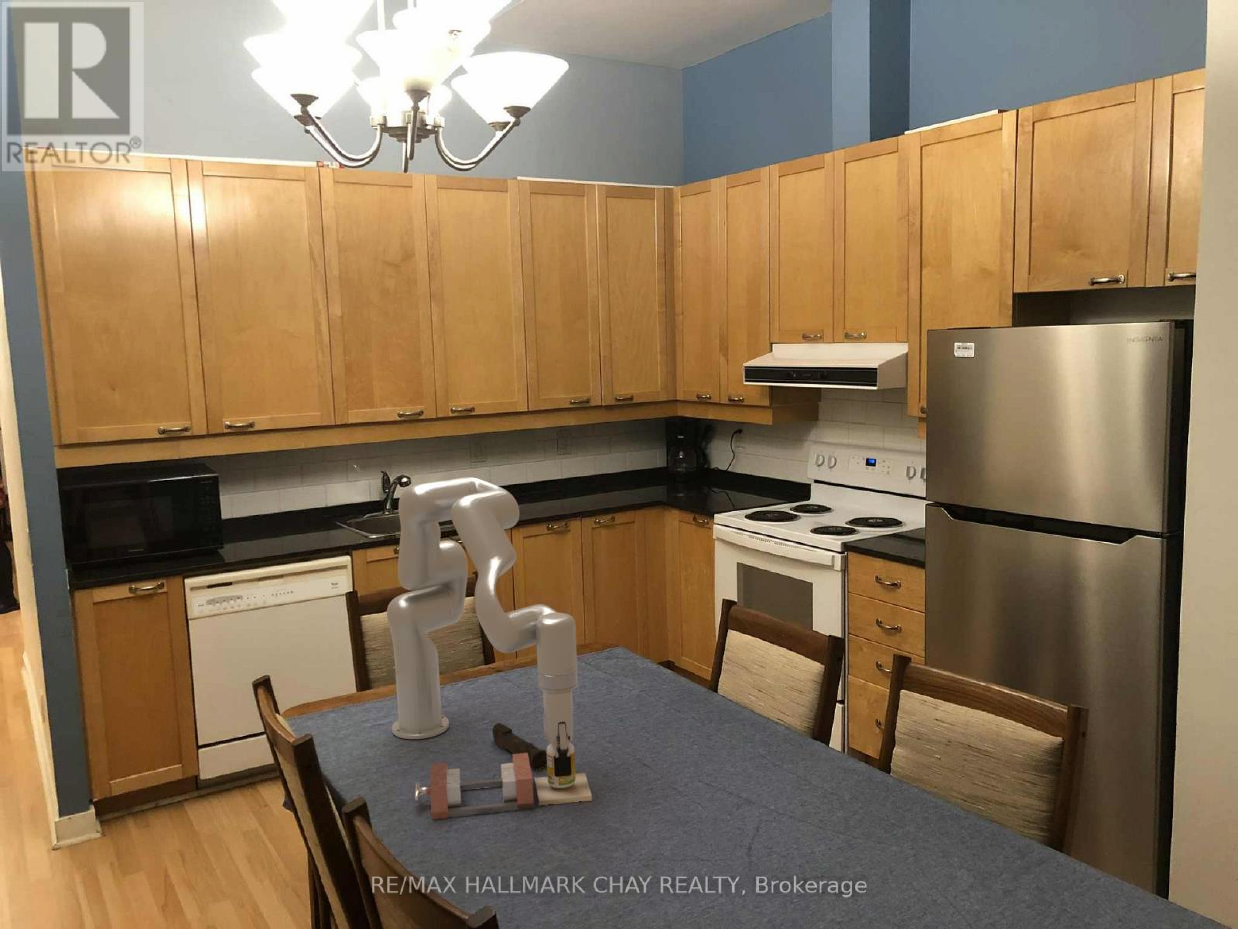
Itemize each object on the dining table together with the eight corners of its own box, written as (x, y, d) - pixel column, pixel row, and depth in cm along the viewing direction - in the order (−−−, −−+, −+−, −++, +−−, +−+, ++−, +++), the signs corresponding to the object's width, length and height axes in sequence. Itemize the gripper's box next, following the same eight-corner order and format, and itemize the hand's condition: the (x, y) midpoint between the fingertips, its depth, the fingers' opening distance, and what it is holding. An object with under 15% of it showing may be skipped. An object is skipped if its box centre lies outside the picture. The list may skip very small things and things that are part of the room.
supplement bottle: (579, 778, 199) (578, 730, 198) (569, 790, 194) (567, 742, 193) (554, 774, 201) (552, 727, 199) (543, 787, 196) (541, 738, 194)
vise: (417, 793, 199) (415, 763, 198) (528, 781, 202) (527, 752, 201) (415, 821, 187) (413, 790, 187) (533, 808, 191) (532, 778, 190)
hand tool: (550, 767, 209) (549, 745, 208) (533, 772, 207) (532, 750, 206) (505, 738, 224) (504, 718, 224) (489, 743, 222) (488, 722, 221)
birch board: (534, 782, 202) (534, 778, 201) (585, 777, 203) (584, 772, 203) (539, 806, 192) (539, 801, 192) (591, 800, 193) (591, 795, 193)
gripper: (534, 665, 202) (537, 752, 205) (542, 696, 185) (545, 790, 188) (572, 662, 203) (575, 748, 206) (583, 693, 187) (586, 786, 189)
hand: (561, 767), depth 197 cm, fingers closed on supplement bottle, 5 cm apart
